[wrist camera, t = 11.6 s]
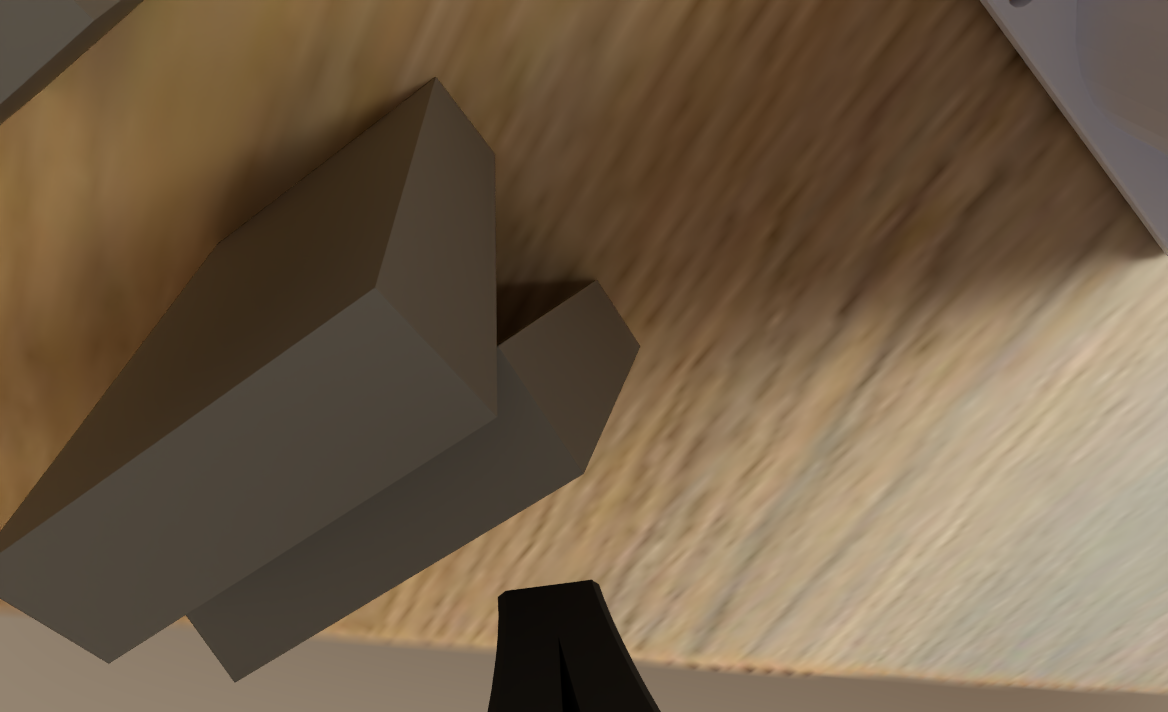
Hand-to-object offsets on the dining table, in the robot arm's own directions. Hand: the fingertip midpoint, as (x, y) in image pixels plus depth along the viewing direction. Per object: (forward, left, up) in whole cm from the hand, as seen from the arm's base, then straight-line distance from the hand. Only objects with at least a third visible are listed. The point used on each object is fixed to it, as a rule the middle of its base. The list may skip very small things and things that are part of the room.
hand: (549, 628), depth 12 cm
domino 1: (+4, -1, -6) cm, 8 cm away
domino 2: (0, 0, -6) cm, 6 cm away
